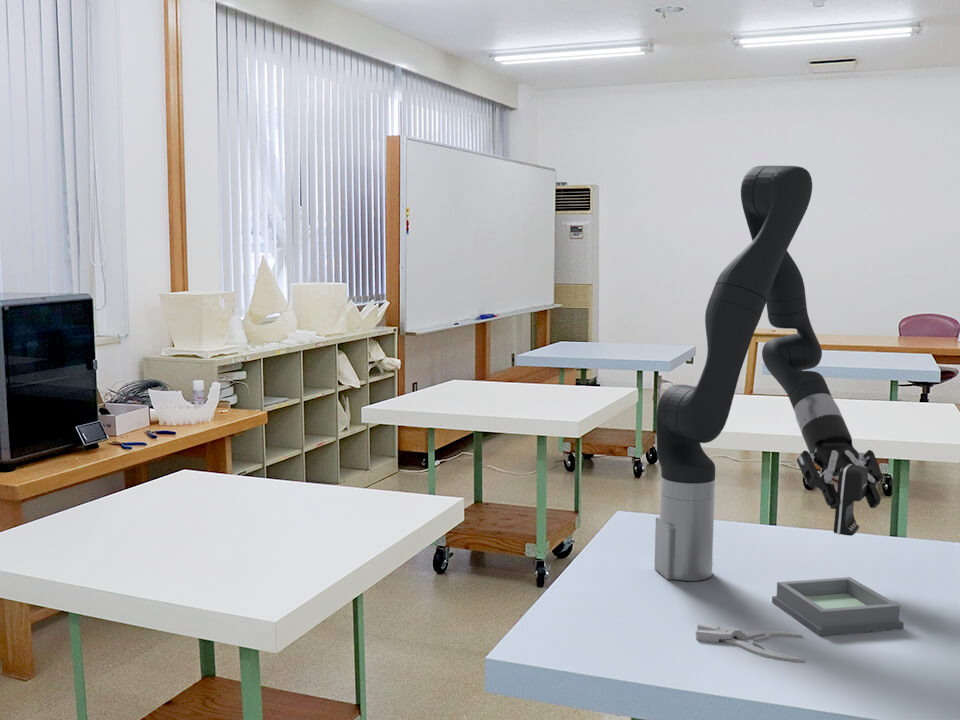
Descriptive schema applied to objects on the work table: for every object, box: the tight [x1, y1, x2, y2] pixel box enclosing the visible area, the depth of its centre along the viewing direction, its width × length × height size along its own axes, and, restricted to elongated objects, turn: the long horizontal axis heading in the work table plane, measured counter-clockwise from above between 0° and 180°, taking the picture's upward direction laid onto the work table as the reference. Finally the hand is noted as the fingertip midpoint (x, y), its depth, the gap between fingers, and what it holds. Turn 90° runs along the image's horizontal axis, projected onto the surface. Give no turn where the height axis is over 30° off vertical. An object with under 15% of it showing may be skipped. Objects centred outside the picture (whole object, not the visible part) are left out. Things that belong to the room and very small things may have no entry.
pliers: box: [695, 623, 805, 663], centre depth 139 cm, size 10×2×15 cm
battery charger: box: [833, 464, 868, 537], centre depth 161 cm, size 7×4×11 cm, turn 148°
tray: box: [771, 576, 905, 637], centre depth 149 cm, size 14×14×4 cm
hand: (856, 506), depth 160 cm, fingers closed on battery charger, 7 cm apart
